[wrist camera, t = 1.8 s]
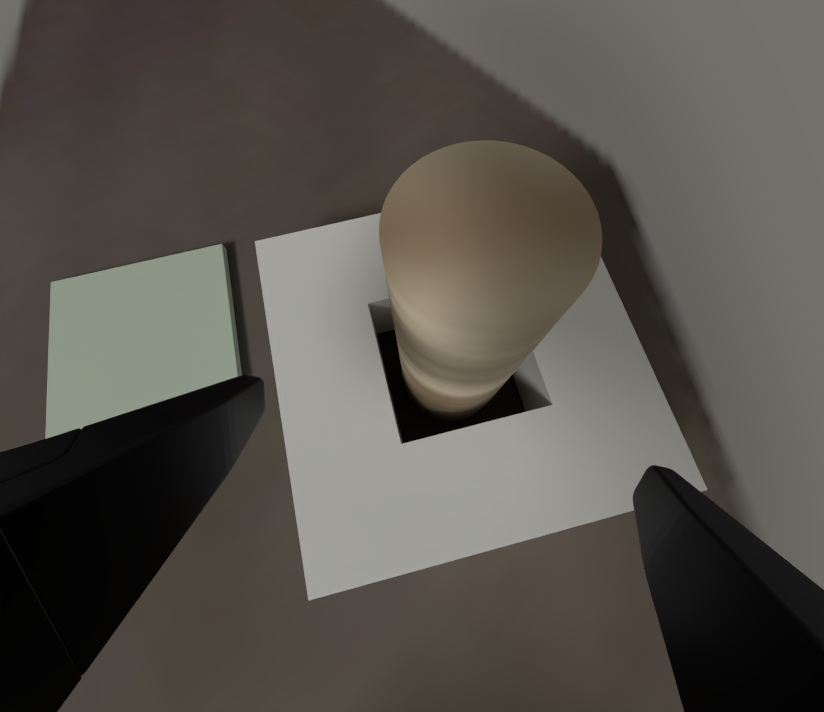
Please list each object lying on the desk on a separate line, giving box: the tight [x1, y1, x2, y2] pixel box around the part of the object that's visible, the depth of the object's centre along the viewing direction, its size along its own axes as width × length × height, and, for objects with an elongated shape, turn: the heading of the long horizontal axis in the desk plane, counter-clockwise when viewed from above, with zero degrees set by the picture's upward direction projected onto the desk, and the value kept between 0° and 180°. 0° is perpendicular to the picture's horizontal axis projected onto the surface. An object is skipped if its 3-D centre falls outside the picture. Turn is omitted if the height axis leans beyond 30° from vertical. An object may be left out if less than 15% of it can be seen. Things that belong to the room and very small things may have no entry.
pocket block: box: [255, 213, 708, 601], centre depth 19 cm, size 16×16×4 cm
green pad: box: [45, 244, 242, 439], centre depth 22 cm, size 10×10×1 cm
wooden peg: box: [379, 140, 603, 421], centre depth 15 cm, size 5×5×13 cm
